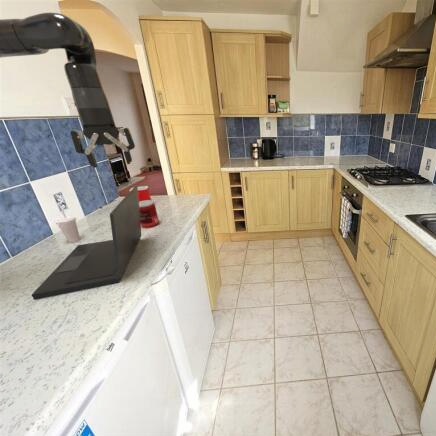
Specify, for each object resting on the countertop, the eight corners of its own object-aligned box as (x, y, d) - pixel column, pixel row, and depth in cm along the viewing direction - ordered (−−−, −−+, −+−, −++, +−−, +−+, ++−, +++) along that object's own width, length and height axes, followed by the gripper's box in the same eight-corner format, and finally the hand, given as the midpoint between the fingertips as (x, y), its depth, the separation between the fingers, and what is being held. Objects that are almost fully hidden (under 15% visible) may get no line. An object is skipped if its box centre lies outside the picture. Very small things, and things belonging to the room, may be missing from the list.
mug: (137, 205, 140) (132, 187, 136) (153, 203, 143) (148, 185, 138) (133, 212, 130) (127, 193, 126) (150, 210, 132) (145, 191, 128)
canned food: (156, 220, 119) (151, 198, 115) (161, 224, 114) (156, 202, 109) (139, 224, 115) (132, 202, 110) (143, 230, 109) (136, 207, 105)
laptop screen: (109, 213, 67) (112, 213, 67) (134, 186, 93) (137, 186, 93) (117, 278, 74) (120, 277, 74) (139, 235, 100) (141, 235, 100)
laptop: (34, 299, 69) (30, 294, 68) (79, 249, 95) (78, 244, 94) (119, 282, 75) (117, 277, 74) (140, 239, 101) (138, 235, 100)
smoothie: (70, 245, 98) (56, 213, 92) (60, 242, 100) (46, 211, 94) (87, 237, 103) (75, 207, 98) (77, 235, 106) (65, 205, 100)
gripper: (125, 106, 73) (140, 161, 80) (65, 108, 67) (87, 166, 74) (121, 105, 67) (138, 164, 73) (55, 107, 61) (80, 170, 68)
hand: (112, 165), depth 74 cm, fingers open, 8 cm apart
